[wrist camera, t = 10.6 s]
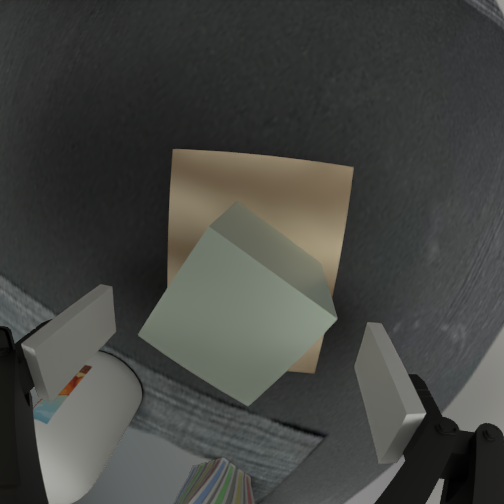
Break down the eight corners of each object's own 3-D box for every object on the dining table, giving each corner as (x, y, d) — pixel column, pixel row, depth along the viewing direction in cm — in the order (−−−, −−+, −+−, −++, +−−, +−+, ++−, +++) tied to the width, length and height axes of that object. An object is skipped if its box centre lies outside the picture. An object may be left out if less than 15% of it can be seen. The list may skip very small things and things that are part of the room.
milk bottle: (132, 351, 26) (10, 526, 7) (153, 412, 29) (74, 572, 10) (69, 344, 27) (-53, 475, 8) (93, 401, 30) (4, 530, 10)
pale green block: (182, 279, 23) (137, 335, 15) (237, 201, 21) (208, 226, 13) (260, 333, 23) (248, 406, 16) (321, 263, 21) (337, 318, 14)
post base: (176, 149, 21) (137, 147, 15) (351, 167, 20) (376, 170, 14) (171, 347, 26) (144, 393, 20) (313, 367, 25) (318, 421, 19)
